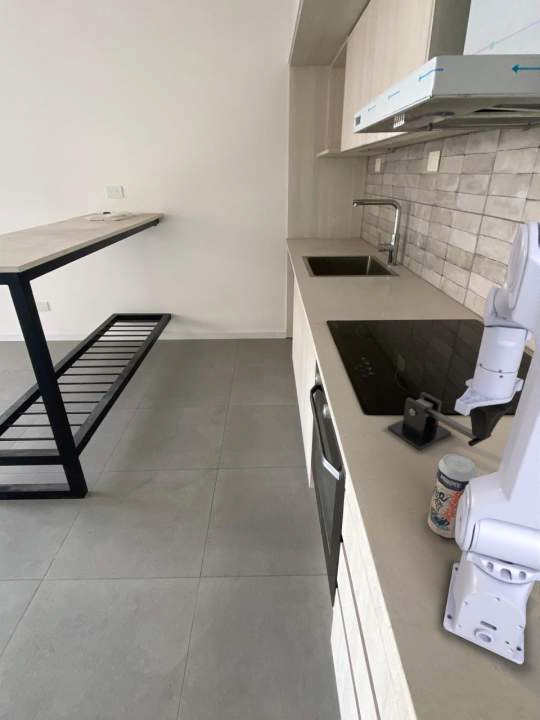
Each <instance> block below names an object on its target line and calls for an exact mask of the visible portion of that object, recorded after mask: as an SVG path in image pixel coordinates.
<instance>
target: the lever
mask: <svg viewBox="0 0 540 720" xmlns="http://www.w3.org/2000/svg"><path fill="white" fill-rule="evenodd" d="M415 401H417V402H419V403H421V404H422V405H424V406H426V407H428V410H427V416H431V417H433V418H434V419H436V420H438V422H440V423H441V424H444V425H445V426H447V427H449V428H451V429H452V430H454V431H456V432H458V433H460V434H462V435H464V437H465V436H466V437H467V438H468V439H470V440H468V441H467V444H468V446H469V447H474V446H476V445H477V444H479V443H481V442H484V440H480V439H479V438H477V437H475V436H473V435H472V428H468V427H467V426H465V425H464V424H462V423H459V422H457V421H455V420H454V419H452V418H451V417H448V416H447V415H445V414H443V413H441V412H440V413H439V412H437V411H435V410H433V404H432V403H430V402H428V401H426V400H424V399H422V398H421V399H420V398H419V399H416V400H415ZM427 416H426V417H427ZM491 437H492V433H491V434H490V436H489V437H488V438H487V439H489V438H491Z"/></svg>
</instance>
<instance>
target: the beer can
mask: <svg viewBox="0 0 540 720" xmlns="http://www.w3.org/2000/svg"><path fill="white" fill-rule="evenodd" d="M437 464H438V465H437V469H436V474H435V480H434V485H433V491H432V496H431V501H430V505H429V510H428V515H427V524H428V526H429V527H430V530H432V531H433V532H434V533H435V534H437V535H439V536H441V537H443V538H446V539H447V538H448V539H451V538H454V539H455V525H456V515H457V508H458V503H459V499H460V497H461V495H463V493H464V490H465V487H466V485H467V484H469V480H470V479H473V478H476V477H478V471H477V468H476V466H475V464H474V461H473V460H471V459H470V458H468V457H467V456H465V455H463V454H459V453H448V454H446V455H445V456H444V457H443V458H441V459H440V460H439V461H438V463H437Z"/></svg>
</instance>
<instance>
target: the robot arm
mask: <svg viewBox="0 0 540 720" xmlns="http://www.w3.org/2000/svg"><path fill="white" fill-rule="evenodd" d="M483 325H484V329H483V332H482V337H481V341H480V342H481V343H480V347H479V351H478V356H477V361H476V365H475V370H474V373H473V378H470V379H468V380H465V386H467V389H466V391H464V393H463V394H462V395H461V396H460V397H459V398H457V399H456V401H455V406H454V411H456V412H457V413H459V414H461V415H463V416H468V415H469V417H470V424H471V430H472V435H473V436H475V437H477V438H479V439H480V440H483V441H486V440H487V439H489V438H490V437H489V436H490V434H491V435H492V433H493V431H494V429H495V428H496V426H497V425H498V423H499V421H501V419H502V418H503V416H504V415H505V414H507V412H509V411H510V410H511V409H512V408H513V406H514V404H513V402H511V401H513V398H514V397H515V395H516V392H520V391H521V394H520V397H519V400H518V404H517V407H516V410H515V412H514V413H515V414H514V416H513V421H512V424H511V427H510V430H509V433H508V437H507V440H506V444H505V448H504V450H503V453H502V457H501V459H500V464H499V466H498V469H497V471H494V472H492V473H491V472H490V473H487V474H483V475H480V476H476V478H473V479H470V480H469V484H467V485H466V487H465V490H464V493H463V495H461V497H460V499H459V503H458V508H457V515H456V525H455V537H454V539H455V542H456V544H457V546H458V547H459V549H460V550H461V551H462V553H461V556H460V561H459V562H455V563H453V566H452V572H451V577H450V581H449V587H448V595H447V600H446V606H445V612H444V617H443V623H442V626H443V628H444V629H445V631H448V632H450V633H452V634H454V635H456V636H459V637H460V638H463V639H464V640H467V641H469V642H471V643H472V644H473V643H474V644H475V645H477V646H479V647H482V648H483V649H486V650H488V651H490V652H492V653H494V654H496V655H498V656H501V657H503V658H505V659H507V660H509V661H512V662H513V663H515V664H517V665H523V664H524V661H525V629H526V625H527V603H528V600H529V597H530V595H531V592H532V590H533V587H534V585H535V582H536V581H540V222H539V221H537V220H526V221H525V222H524V224H522V225H521V226H520V227H518V229H517V231H516V233H515V234H514V237H513V240H512V243H511V247H510V251H509V256H508V261H507V268H506V279H505V281H504V282H503V283H502V285H501V287H498V286H497V285H491V287H490V289H489V290H488V293H487V295H486V298H485V302H484V308H483ZM532 336H533V339H534V343H535V348H534V351H533V354H532V357H531V360H530V364H529V368H528V372H527V373H526V377H525V380H524V379H522V378H519V377H517V376H518V373H519V369H520V365H521V362H522V358H523V354H524V351H525V347H526V343H530V341H531V337H532ZM488 437H489V438H488Z"/></svg>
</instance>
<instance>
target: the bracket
mask: <svg viewBox="0 0 540 720" xmlns="http://www.w3.org/2000/svg"><path fill="white" fill-rule="evenodd" d="M421 398H422V399H424V400H426V401H428V402H430V403H432V404H433V410H435V411H437V412H439V413H441V410H442V405H443V401H442V400H441V399H439V398H437V397H435V396H433V395H431V394H429V393H427V392H425V391H422V392H420V394H419V399H421ZM427 410H428V407H426V406H424V405H422V404H421V403H419V402H417V401H416V400H415V399H414V398H412V397H407V398H406V399H405V405H404V412H403V418H402V420H399V421H398V422H395V423H392V424H390V425H388V426H387V431H388V432H390V433H391V434H392V435H395V436H396V437H398V438H399V439H400V440H402V441H404V442H405V443H406V444H407V445H409V446H411V447H412V448H414V449H415V450H417V451H418V452H420V451H422V450H424V449H426V448H428V447H431V446H433V445H434V444H436V443H438V442H440V441H442V440H445V439H447V438H449V437H451V435H452V431H451V430H448V429H447V428H445V427H443V426H442V425H440V424H439V421H438V420H436V419H434V418H433V417H431V416H427ZM426 416H427V417H426Z"/></svg>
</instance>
